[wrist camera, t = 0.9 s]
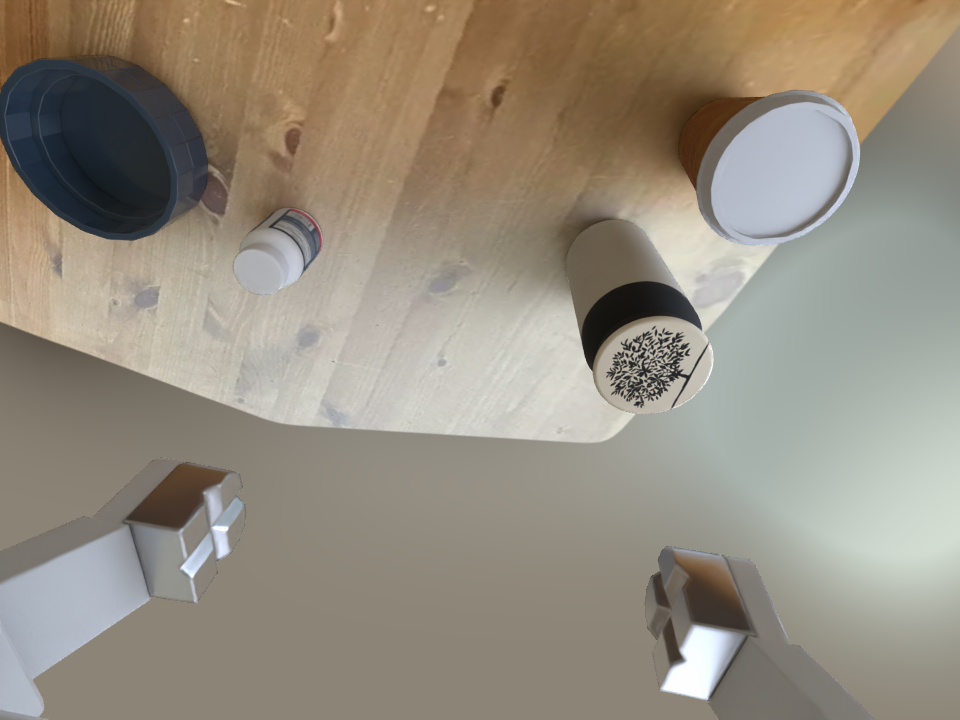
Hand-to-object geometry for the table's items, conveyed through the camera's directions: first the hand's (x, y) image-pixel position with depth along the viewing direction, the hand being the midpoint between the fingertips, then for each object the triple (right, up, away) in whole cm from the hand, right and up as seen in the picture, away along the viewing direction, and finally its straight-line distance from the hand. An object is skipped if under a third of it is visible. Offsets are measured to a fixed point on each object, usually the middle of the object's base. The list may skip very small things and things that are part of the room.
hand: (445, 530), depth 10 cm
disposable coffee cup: (+20, +21, +32) cm, 43 cm away
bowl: (-29, +22, +34) cm, 50 cm away
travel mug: (+13, +13, +38) cm, 42 cm away
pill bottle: (-17, +15, +38) cm, 44 cm away
